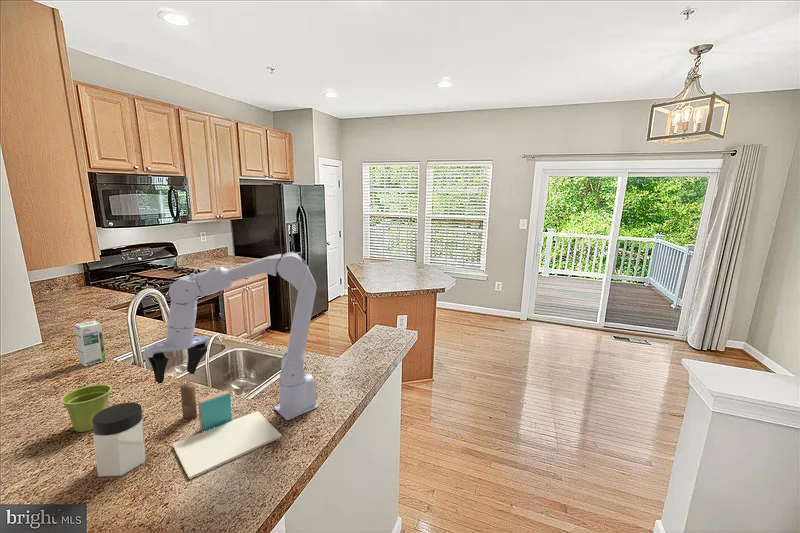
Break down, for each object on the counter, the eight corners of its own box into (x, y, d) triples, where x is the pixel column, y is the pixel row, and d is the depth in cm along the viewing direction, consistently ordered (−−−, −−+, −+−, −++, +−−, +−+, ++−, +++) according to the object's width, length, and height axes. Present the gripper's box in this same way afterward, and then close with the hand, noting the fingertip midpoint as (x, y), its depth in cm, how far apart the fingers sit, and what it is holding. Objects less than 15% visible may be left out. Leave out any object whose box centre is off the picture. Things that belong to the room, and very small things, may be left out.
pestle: (195, 412, 93) (192, 381, 92) (198, 417, 91) (196, 386, 90) (181, 417, 91) (179, 385, 90) (184, 422, 89) (182, 390, 87)
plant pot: (77, 418, 89) (73, 387, 88) (120, 411, 93) (117, 381, 91) (56, 440, 81) (51, 406, 79) (105, 432, 84) (101, 399, 83)
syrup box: (85, 367, 117) (80, 327, 115) (78, 363, 120) (73, 323, 118) (106, 361, 122) (101, 322, 120) (99, 357, 125) (95, 319, 123)
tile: (229, 418, 91) (227, 390, 90) (232, 421, 90) (230, 393, 89) (200, 429, 86) (198, 399, 85) (202, 432, 85) (200, 403, 84)
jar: (156, 449, 79) (152, 401, 77) (132, 476, 71) (127, 423, 69) (114, 450, 78) (109, 402, 76) (85, 478, 70) (78, 424, 68)
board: (257, 412, 94) (257, 410, 94) (281, 437, 84) (281, 434, 84) (172, 446, 80) (172, 443, 80) (189, 480, 70) (188, 477, 70)
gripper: (200, 316, 92) (194, 363, 94) (139, 325, 80) (133, 380, 81) (216, 324, 89) (210, 372, 91) (156, 334, 76) (149, 391, 78)
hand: (175, 377), depth 86 cm, fingers open, 7 cm apart
